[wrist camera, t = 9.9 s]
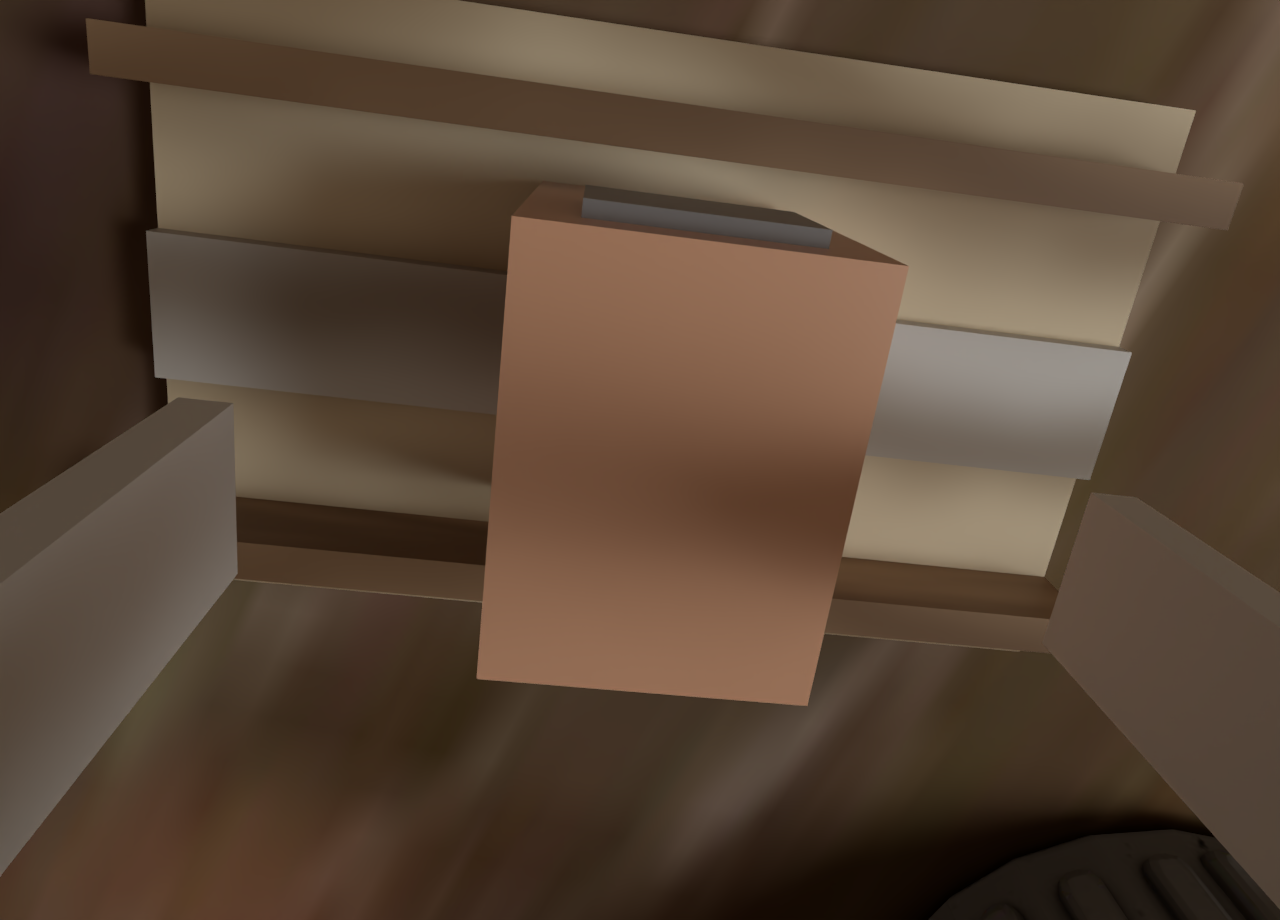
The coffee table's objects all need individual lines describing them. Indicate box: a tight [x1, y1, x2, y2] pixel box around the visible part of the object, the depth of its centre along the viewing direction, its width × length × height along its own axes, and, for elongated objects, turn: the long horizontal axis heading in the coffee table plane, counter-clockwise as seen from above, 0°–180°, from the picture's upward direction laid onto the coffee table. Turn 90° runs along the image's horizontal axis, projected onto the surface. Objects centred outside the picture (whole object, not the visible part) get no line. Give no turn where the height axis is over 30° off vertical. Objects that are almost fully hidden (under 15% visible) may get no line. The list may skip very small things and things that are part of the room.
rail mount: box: [86, 0, 1244, 653], centre depth 22 cm, size 15×24×4 cm, turn 83°
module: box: [477, 181, 909, 706], centre depth 18 cm, size 8×6×8 cm
